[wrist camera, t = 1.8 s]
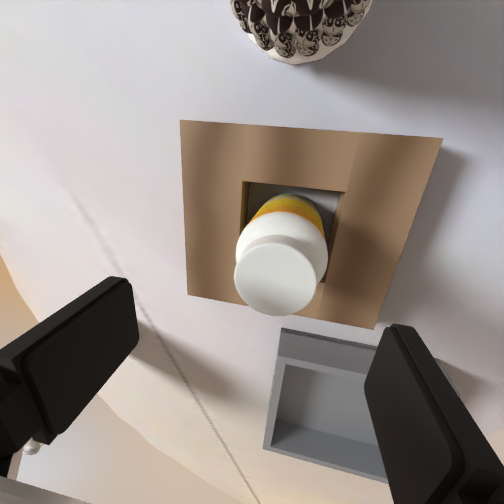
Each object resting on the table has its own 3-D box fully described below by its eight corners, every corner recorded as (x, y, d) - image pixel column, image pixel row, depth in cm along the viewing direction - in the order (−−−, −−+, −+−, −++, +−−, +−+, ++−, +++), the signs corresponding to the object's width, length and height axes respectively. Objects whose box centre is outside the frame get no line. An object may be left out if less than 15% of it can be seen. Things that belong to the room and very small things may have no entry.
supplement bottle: (324, 251, 20) (337, 328, 12) (262, 257, 22) (233, 330, 13) (318, 186, 18) (328, 221, 10) (250, 197, 20) (207, 237, 11)
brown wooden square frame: (423, 139, 16) (443, 138, 14) (366, 310, 22) (373, 329, 19) (195, 123, 18) (179, 119, 16) (198, 280, 24) (187, 294, 22)
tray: (437, 358, 22) (460, 395, 19) (389, 448, 28) (399, 487, 25) (281, 327, 24) (277, 355, 21) (267, 416, 30) (262, 448, 27)
